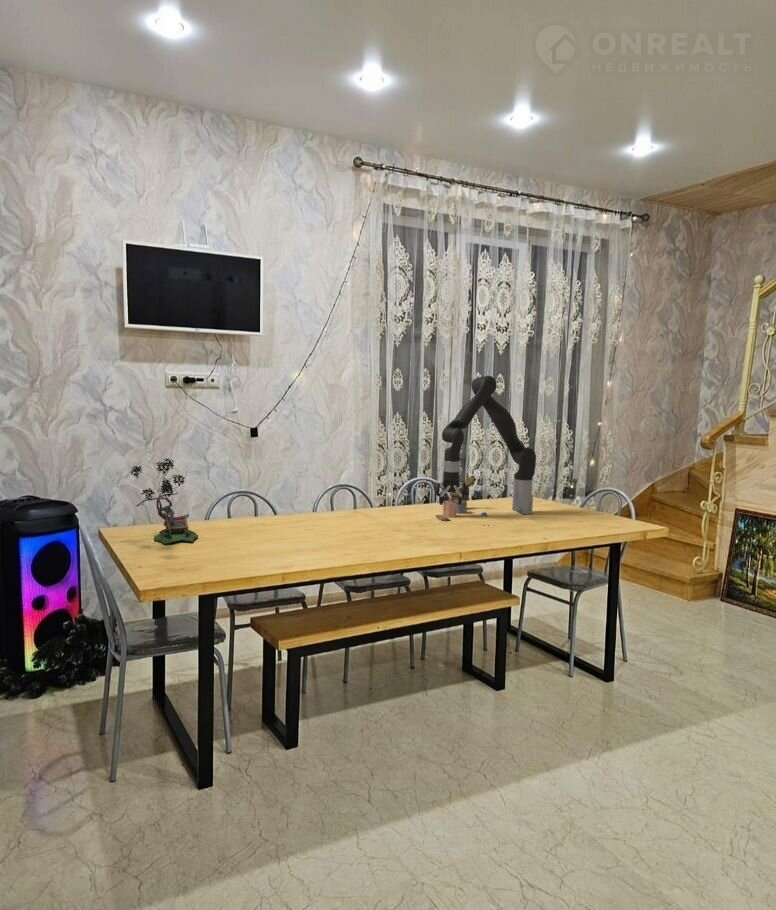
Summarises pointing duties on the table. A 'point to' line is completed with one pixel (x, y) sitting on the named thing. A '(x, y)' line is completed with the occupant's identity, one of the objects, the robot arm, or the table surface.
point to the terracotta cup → (449, 509)
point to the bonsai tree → (174, 525)
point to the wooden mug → (468, 483)
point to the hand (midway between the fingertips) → (450, 504)
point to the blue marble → (484, 514)
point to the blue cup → (461, 507)
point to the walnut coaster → (442, 518)
